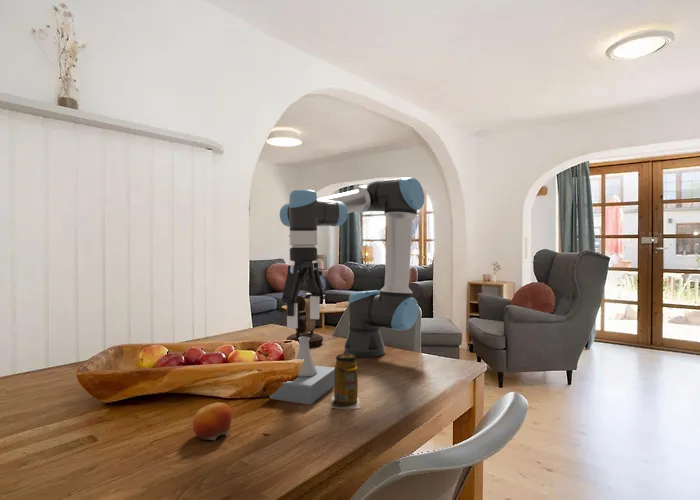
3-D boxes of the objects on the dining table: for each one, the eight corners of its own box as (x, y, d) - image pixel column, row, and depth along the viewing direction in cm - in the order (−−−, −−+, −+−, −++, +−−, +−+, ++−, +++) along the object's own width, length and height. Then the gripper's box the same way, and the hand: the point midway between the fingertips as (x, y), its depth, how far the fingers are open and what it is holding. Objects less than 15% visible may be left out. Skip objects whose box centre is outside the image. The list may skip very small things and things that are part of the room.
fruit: (216, 442, 86) (202, 404, 88) (194, 454, 90) (181, 417, 92) (246, 427, 93) (232, 392, 95) (224, 439, 96) (212, 405, 98)
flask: (314, 378, 115) (314, 341, 115) (288, 377, 116) (288, 340, 116) (319, 370, 122) (319, 335, 122) (294, 369, 123) (293, 334, 123)
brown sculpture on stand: (308, 350, 165) (308, 298, 164) (279, 345, 172) (278, 295, 172) (330, 342, 177) (330, 294, 177) (301, 338, 185) (301, 292, 185)
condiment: (358, 396, 115) (358, 352, 115) (360, 409, 107) (360, 361, 107) (331, 397, 115) (331, 352, 115) (331, 409, 107) (331, 361, 106)
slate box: (297, 379, 129) (297, 363, 129) (336, 384, 125) (336, 367, 125) (268, 398, 114) (268, 380, 114) (311, 405, 109) (311, 385, 109)
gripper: (311, 245, 131) (311, 314, 132) (267, 247, 108) (268, 331, 109) (333, 245, 129) (334, 316, 129) (293, 247, 105) (294, 333, 106)
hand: (304, 323), depth 119 cm, fingers open, 13 cm apart
